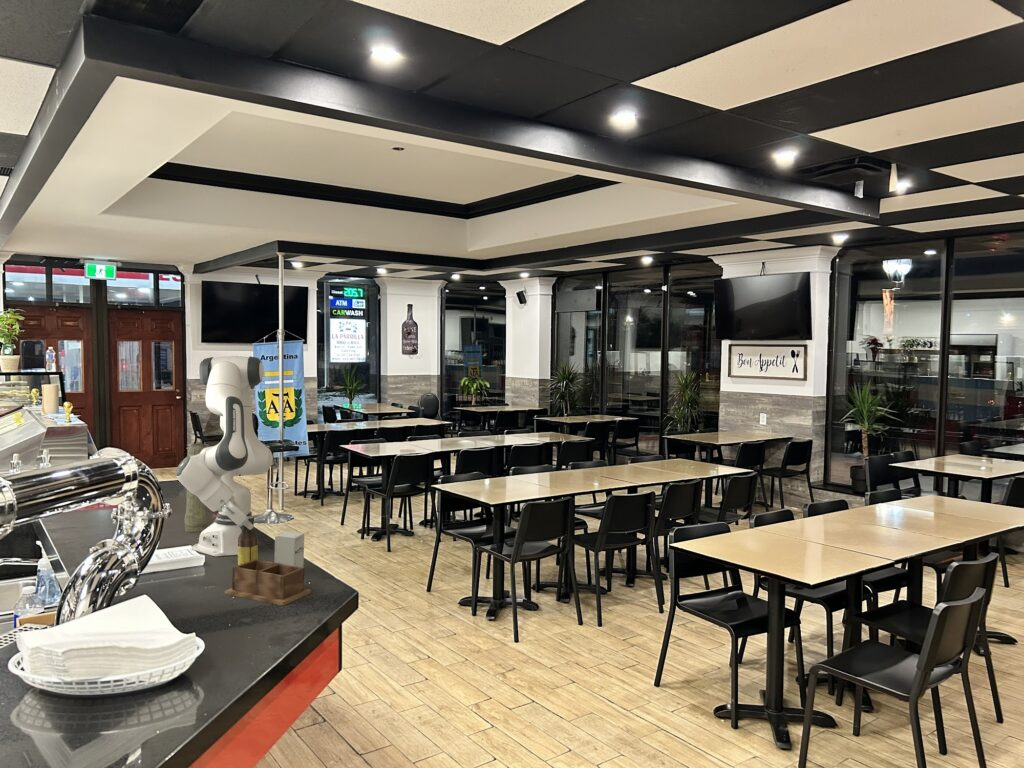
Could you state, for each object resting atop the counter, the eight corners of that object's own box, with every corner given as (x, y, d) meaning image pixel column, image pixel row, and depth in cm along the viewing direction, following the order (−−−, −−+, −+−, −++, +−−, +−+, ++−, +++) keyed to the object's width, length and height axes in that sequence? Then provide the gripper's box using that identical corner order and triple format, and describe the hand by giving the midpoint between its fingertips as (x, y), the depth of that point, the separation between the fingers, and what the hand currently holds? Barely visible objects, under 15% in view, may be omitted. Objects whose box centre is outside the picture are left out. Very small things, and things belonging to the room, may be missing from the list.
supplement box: (293, 575, 244) (294, 537, 244) (273, 573, 246) (274, 535, 245) (304, 569, 251) (305, 532, 251) (284, 566, 253) (285, 530, 252)
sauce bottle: (255, 573, 244) (256, 514, 244) (259, 578, 239) (261, 518, 238) (235, 575, 241) (236, 515, 240) (239, 581, 236) (240, 519, 235)
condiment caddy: (224, 593, 224) (225, 567, 223) (254, 581, 236) (254, 557, 235) (283, 605, 216) (283, 579, 215) (310, 592, 228) (311, 567, 227)
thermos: (186, 534, 289) (187, 446, 287) (183, 527, 299) (184, 442, 298) (210, 532, 293) (212, 445, 292) (206, 526, 304) (208, 441, 302)
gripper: (231, 497, 226) (263, 526, 231) (223, 484, 244) (253, 511, 249) (215, 512, 224) (248, 541, 229) (208, 498, 242) (238, 525, 248)
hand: (250, 525), depth 240 cm, fingers closed on sauce bottle, 4 cm apart
